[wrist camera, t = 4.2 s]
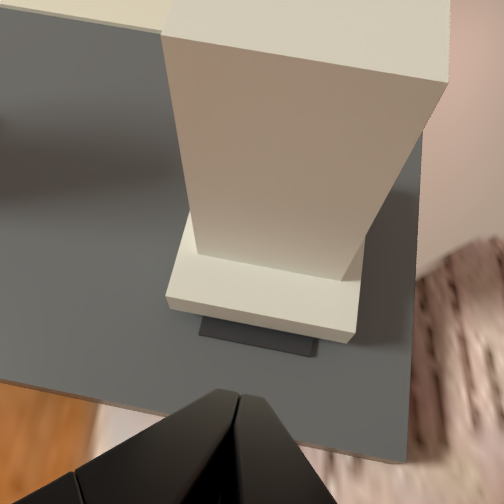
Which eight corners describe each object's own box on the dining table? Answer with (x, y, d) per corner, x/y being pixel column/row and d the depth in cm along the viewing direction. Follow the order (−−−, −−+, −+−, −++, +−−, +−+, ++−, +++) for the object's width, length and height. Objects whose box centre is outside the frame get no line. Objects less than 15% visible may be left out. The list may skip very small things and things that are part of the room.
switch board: (391, 464, 15) (410, 463, 14) (-354, 308, 17) (-420, 290, 15) (415, 60, 23) (430, 27, 21) (-97, -25, 24) (-122, -62, 23)
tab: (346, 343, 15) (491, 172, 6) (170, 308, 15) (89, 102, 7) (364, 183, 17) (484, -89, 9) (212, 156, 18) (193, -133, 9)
